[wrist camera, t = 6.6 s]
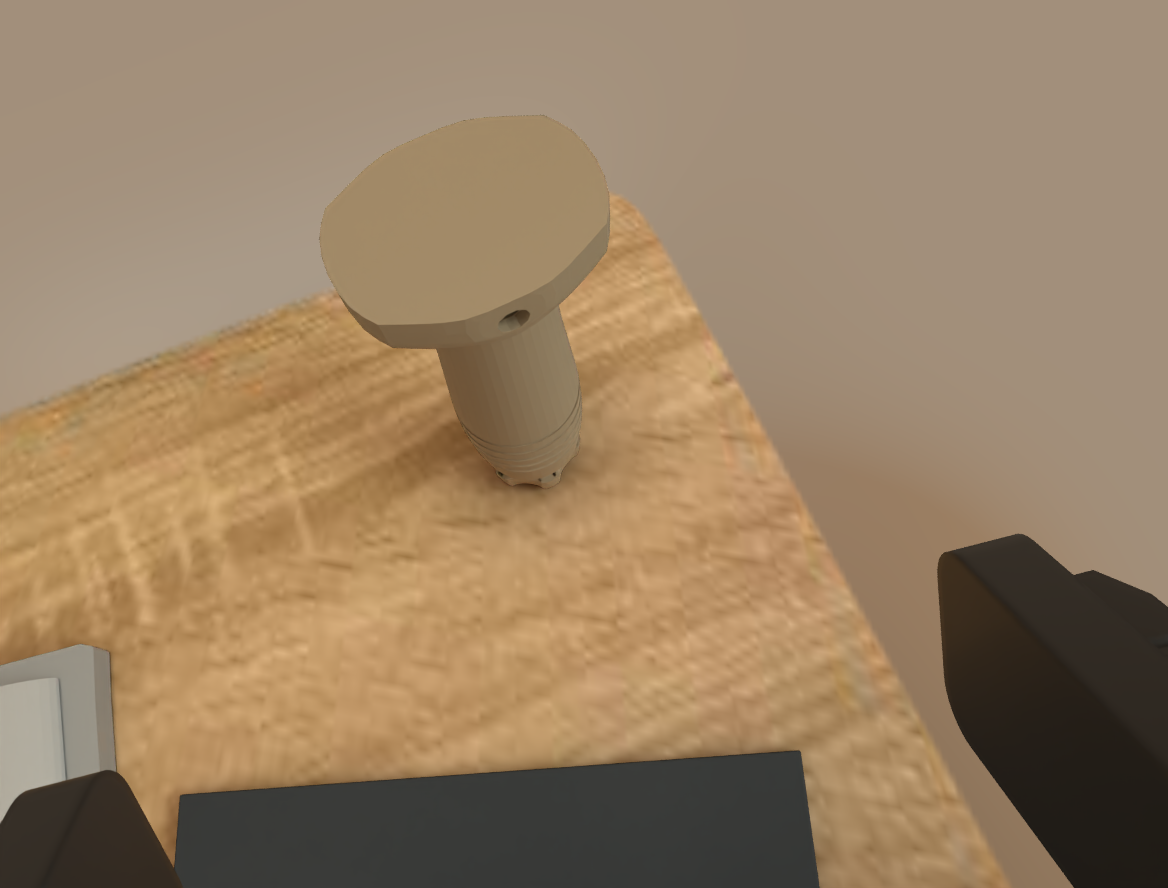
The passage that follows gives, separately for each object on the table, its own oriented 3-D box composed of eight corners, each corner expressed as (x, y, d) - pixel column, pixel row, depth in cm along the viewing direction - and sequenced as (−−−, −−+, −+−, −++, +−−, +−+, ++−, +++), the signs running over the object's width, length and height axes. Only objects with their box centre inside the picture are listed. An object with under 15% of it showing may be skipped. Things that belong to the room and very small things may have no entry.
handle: (429, 434, 35) (291, 191, 21) (585, 362, 36) (550, 81, 22) (481, 547, 34) (368, 366, 20) (643, 470, 34) (645, 241, 20)
